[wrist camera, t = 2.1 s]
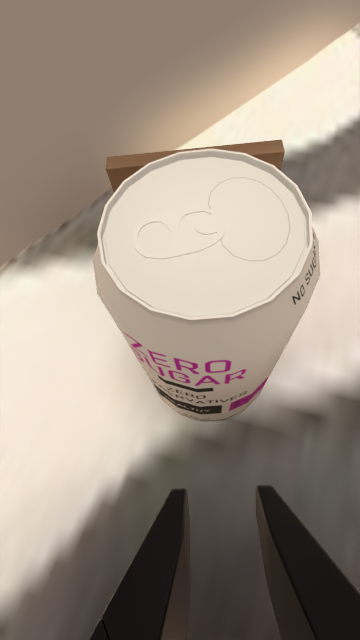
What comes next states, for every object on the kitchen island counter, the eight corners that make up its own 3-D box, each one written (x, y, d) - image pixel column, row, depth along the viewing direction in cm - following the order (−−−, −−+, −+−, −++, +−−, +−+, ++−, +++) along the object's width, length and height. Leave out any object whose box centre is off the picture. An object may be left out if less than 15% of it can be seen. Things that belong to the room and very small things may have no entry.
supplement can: (245, 302, 26) (279, 116, 13) (282, 406, 23) (382, 301, 9) (143, 326, 26) (70, 165, 13) (164, 435, 23) (95, 371, 9)
